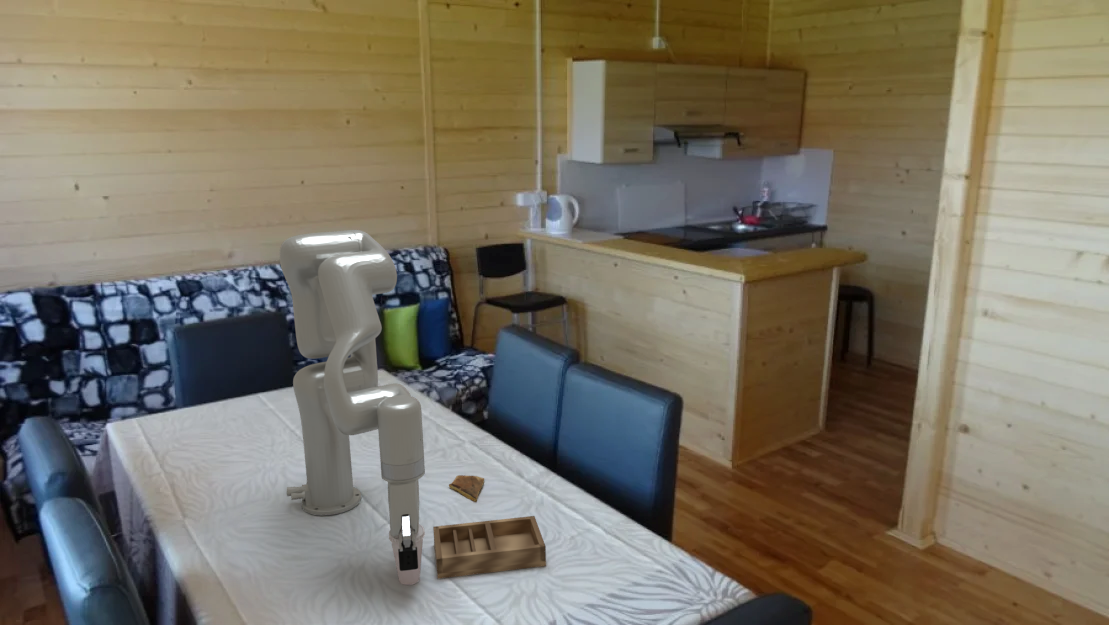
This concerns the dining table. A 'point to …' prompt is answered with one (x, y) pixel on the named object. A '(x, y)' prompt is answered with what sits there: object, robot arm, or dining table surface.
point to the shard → (467, 486)
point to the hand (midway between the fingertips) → (408, 555)
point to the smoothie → (414, 575)
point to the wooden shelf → (488, 547)
